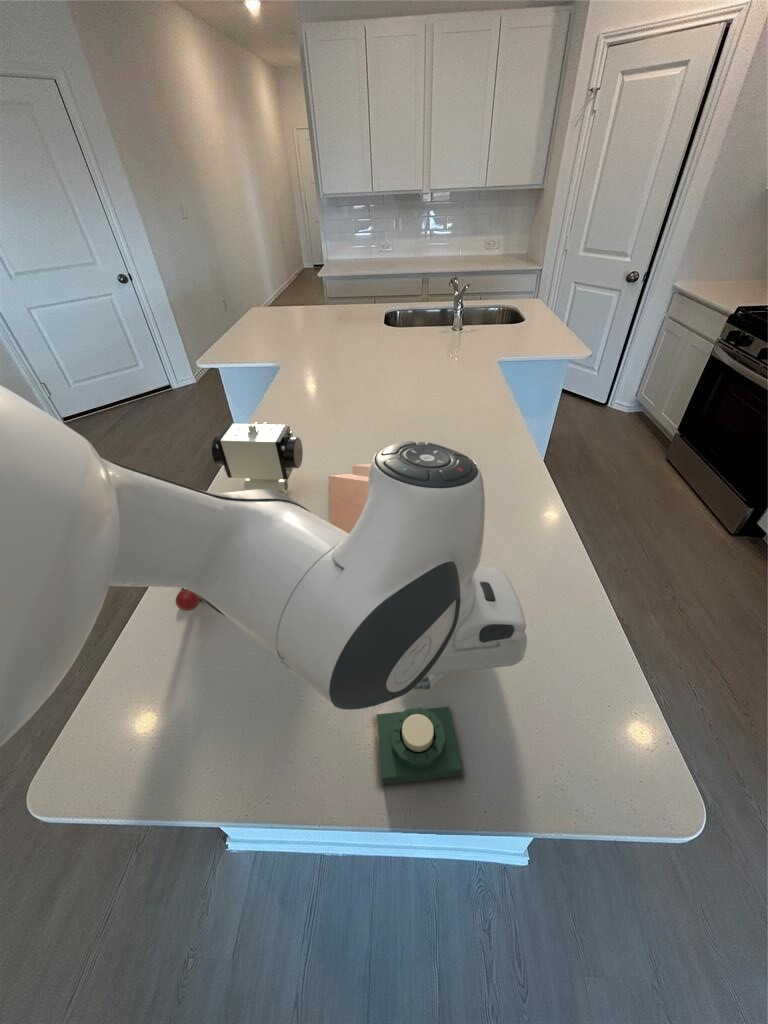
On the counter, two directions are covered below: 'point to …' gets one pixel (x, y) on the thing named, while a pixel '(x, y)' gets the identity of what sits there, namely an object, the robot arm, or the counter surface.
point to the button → (417, 733)
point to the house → (348, 496)
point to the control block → (417, 765)
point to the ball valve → (258, 454)
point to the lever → (187, 600)
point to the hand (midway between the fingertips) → (420, 683)
